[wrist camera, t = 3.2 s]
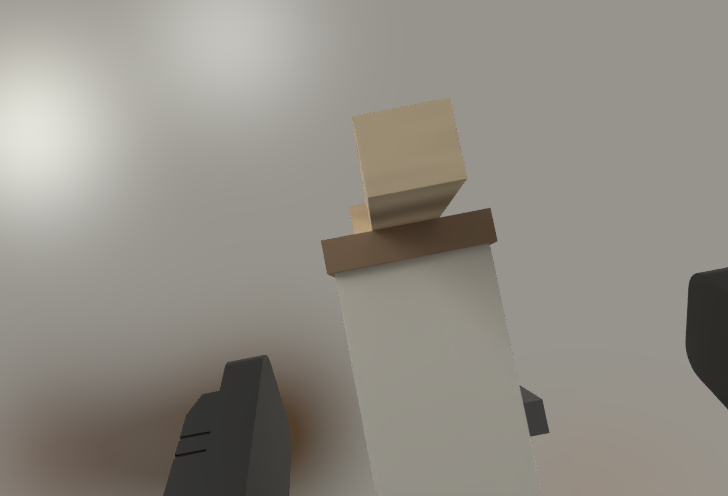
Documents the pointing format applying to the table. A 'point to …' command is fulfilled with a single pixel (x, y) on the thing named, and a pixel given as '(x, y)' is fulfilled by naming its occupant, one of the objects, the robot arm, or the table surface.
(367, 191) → the tan wooden plank
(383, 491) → the white tall carton
